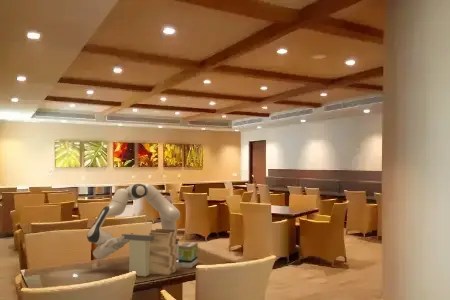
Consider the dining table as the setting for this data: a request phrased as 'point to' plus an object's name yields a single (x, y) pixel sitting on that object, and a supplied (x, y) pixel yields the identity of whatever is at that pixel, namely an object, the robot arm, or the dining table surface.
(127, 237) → the bar
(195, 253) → the tea box
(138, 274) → the block
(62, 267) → the dining table surface
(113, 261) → the dining table surface
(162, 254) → the stand
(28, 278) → the dining table surface
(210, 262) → the dining table surface
